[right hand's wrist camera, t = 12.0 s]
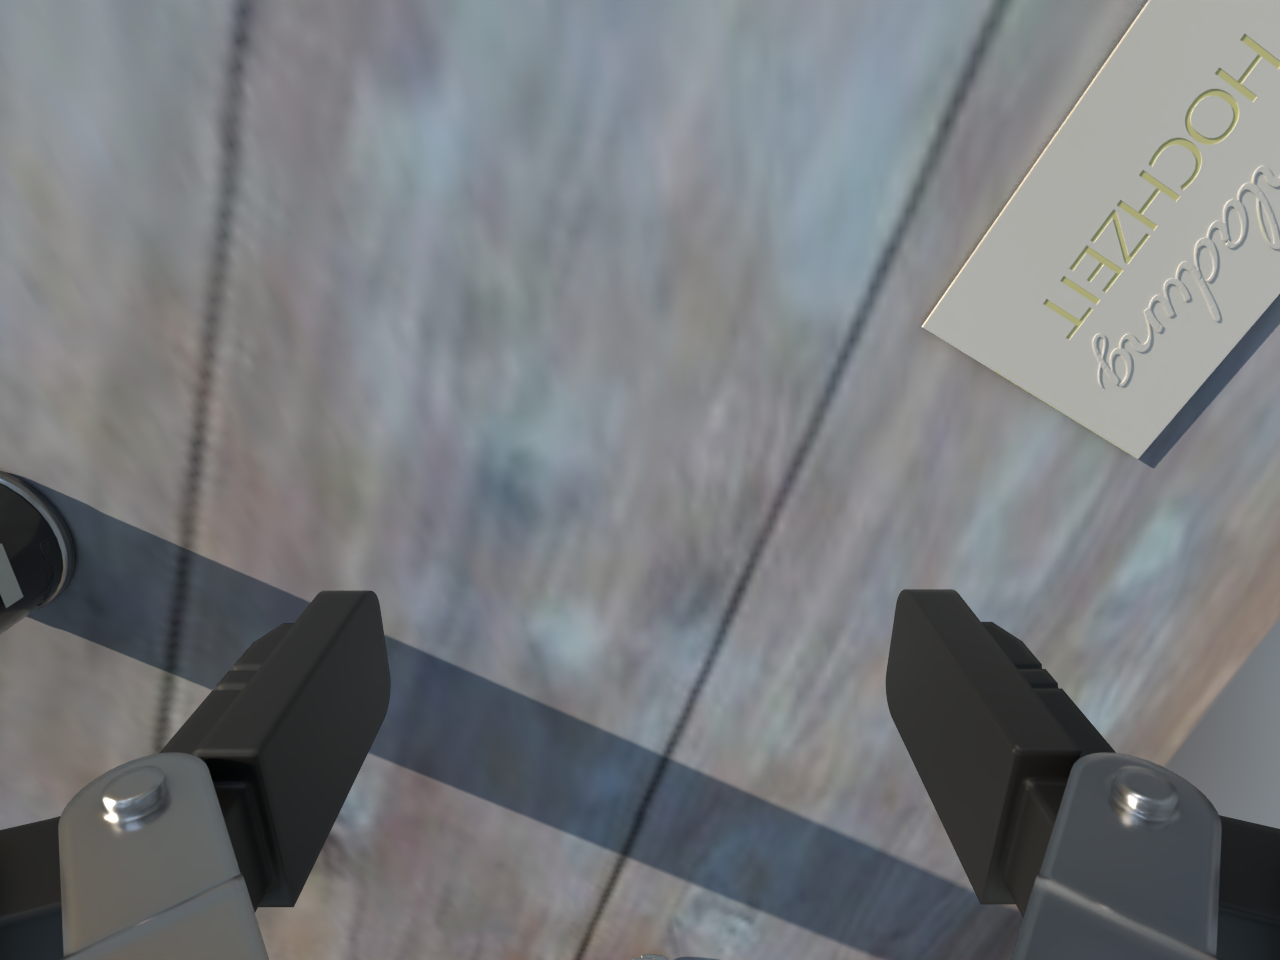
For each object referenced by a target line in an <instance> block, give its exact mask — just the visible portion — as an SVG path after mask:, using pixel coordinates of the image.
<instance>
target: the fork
mask: <svg viewBox="0 0 1280 960" xmlns="http://www.w3.org/2000/svg"><path fill="white" fill-rule="evenodd" d="M633 960H668V959H667V958H665V957H664V956H660V955H654V954H648V955H642V956H641V958H634V959H633Z"/></svg>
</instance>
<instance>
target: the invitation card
mask: <svg viewBox="0 0 1280 960" xmlns="http://www.w3.org/2000/svg"><path fill="white" fill-rule="evenodd" d="M1279 294H1280V0H1148V2H1147V3H1146V5H1145V6H1144V8H1143V9H1142V10H1141V12H1140V13H1139V15H1138V16H1137V18H1136V19H1135V21H1134V22H1133V23H1132V25H1131V26H1130V28H1129V29H1128V31H1127V32H1126V33H1125V35H1124V36H1123V38H1122V39H1121V41H1120V42H1119V44H1118V45H1117V46H1116V48H1115V49H1114V51H1113V52H1112V54H1111V55H1110V56H1109V58H1108V59H1107V61H1106V62H1105V64H1104V65H1103V67H1102V68H1101V69H1100V71H1099V72H1098V74H1097V75H1096V77H1095V78H1094V79H1093V81H1092V82H1091V84H1090V85H1089V87H1088V88H1087V90H1086V91H1085V92H1084V94H1083V95H1082V97H1081V98H1080V100H1079V101H1078V102H1077V104H1076V105H1075V107H1074V108H1073V110H1072V111H1071V113H1070V114H1069V115H1068V117H1067V118H1066V120H1065V121H1064V123H1063V124H1062V125H1061V127H1060V128H1059V130H1058V131H1057V133H1056V134H1055V136H1054V137H1053V138H1052V140H1051V141H1050V143H1049V144H1048V146H1047V147H1046V148H1045V150H1044V151H1043V153H1042V154H1041V156H1040V157H1039V159H1038V160H1037V161H1036V163H1035V164H1034V166H1033V167H1032V169H1031V170H1030V171H1029V173H1028V174H1027V176H1026V177H1025V179H1024V180H1023V182H1022V183H1021V184H1020V186H1019V187H1018V189H1017V190H1016V192H1015V193H1014V194H1013V196H1012V197H1011V199H1010V200H1009V202H1008V203H1007V205H1006V206H1005V207H1004V209H1003V210H1002V212H1001V213H1000V215H999V216H998V217H997V219H996V220H995V222H994V223H993V225H992V226H991V228H990V229H989V230H988V232H987V233H986V235H985V236H984V238H983V239H982V240H981V242H980V243H979V245H978V246H977V248H976V249H975V251H974V252H973V253H972V255H971V256H970V258H969V259H968V261H967V262H966V263H965V265H964V266H963V268H962V269H961V271H960V272H959V274H958V275H957V276H956V278H955V279H954V281H953V282H952V284H951V285H950V286H949V288H948V289H947V291H946V292H945V294H944V295H943V297H942V298H941V299H940V301H939V302H938V304H937V305H936V307H935V308H934V309H933V311H932V312H931V314H930V315H929V317H928V318H927V320H926V321H925V322H924V324H923V325H922V327H923V328H924V329H926V330H928V331H929V332H931V333H932V334H934V335H936V336H937V337H939V338H941V339H942V340H944V341H945V342H947V343H949V344H950V345H952V346H954V347H955V348H957V349H959V350H960V351H962V352H963V353H965V354H967V355H968V356H970V357H972V358H973V359H975V360H976V361H978V362H980V363H981V364H983V365H985V366H986V367H988V368H990V369H991V370H993V371H994V372H996V373H998V374H999V375H1001V376H1003V377H1004V378H1006V379H1008V380H1009V381H1011V382H1012V383H1014V384H1016V385H1017V386H1019V387H1021V388H1022V389H1024V390H1025V391H1027V392H1029V393H1030V394H1032V395H1034V396H1035V397H1037V398H1039V399H1040V400H1042V401H1043V402H1045V403H1047V404H1048V405H1050V406H1052V407H1053V408H1055V409H1056V410H1058V411H1060V412H1061V413H1063V414H1065V415H1066V416H1068V417H1070V418H1071V419H1073V420H1074V421H1076V422H1078V423H1079V424H1081V425H1083V426H1084V427H1086V428H1087V429H1089V430H1091V431H1092V432H1094V433H1096V434H1097V435H1099V436H1101V437H1102V438H1104V439H1105V440H1107V441H1109V442H1110V443H1112V444H1114V445H1115V446H1117V447H1118V448H1120V449H1122V450H1123V451H1125V452H1127V453H1128V454H1130V455H1132V456H1133V457H1135V458H1137V459H1139V457H1140V456H1141V455H1142V454H1143V453H1144V452H1145V450H1146V449H1147V448H1148V447H1149V446H1150V445H1151V443H1152V442H1153V441H1154V440H1155V439H1156V438H1157V436H1158V435H1159V434H1160V433H1161V432H1162V431H1163V429H1164V428H1165V427H1166V426H1167V425H1168V424H1169V422H1170V421H1171V420H1172V419H1173V418H1174V417H1175V415H1176V414H1177V413H1178V412H1179V411H1180V410H1181V408H1182V407H1183V406H1184V405H1185V404H1186V402H1187V401H1188V400H1189V399H1190V398H1191V397H1192V395H1193V394H1194V393H1195V392H1196V391H1197V390H1198V388H1199V387H1200V386H1201V385H1202V384H1203V383H1204V381H1205V380H1206V379H1207V378H1208V377H1209V376H1210V374H1211V373H1212V372H1213V371H1214V370H1215V369H1216V367H1217V366H1218V365H1219V364H1220V363H1221V362H1222V360H1223V359H1224V358H1225V357H1226V356H1227V355H1228V353H1229V352H1230V351H1231V350H1232V349H1233V348H1234V346H1235V345H1236V344H1237V343H1238V342H1239V341H1240V339H1241V338H1242V337H1243V336H1244V335H1245V334H1246V332H1247V331H1248V330H1249V329H1250V328H1251V327H1252V325H1253V324H1254V323H1255V322H1256V321H1257V320H1258V318H1259V317H1260V316H1261V315H1262V314H1263V313H1264V311H1265V310H1266V309H1267V308H1268V307H1269V306H1270V304H1271V303H1272V302H1273V301H1274V300H1275V299H1276V297H1277V296H1278V295H1279Z"/></svg>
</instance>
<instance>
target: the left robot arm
mask: <svg viewBox="0 0 1280 960" xmlns="http://www.w3.org/2000/svg"><path fill="white" fill-rule="evenodd" d="M74 568H75V548H74V544H73V540H72V537H71V534H70V532H69V530H68V527H67V526H66V524H65V522H64V520H63V519H62V517H61V516H60V514H59V513H58V512H57V510H56V509H55V508H54V507H53V505H52V504H51V503H50V502H49V501H48V500H47V499H46V498H45V497H44V496H42V495H41V494H40V493H39V492H38V491H36V490H35V489H34V488H33V487H31V486H30V485H28V484H27V483H25V482H23V481H22V480H20V479H18V478H16V477H14V476H12V475H10V474H8V473H5V472H3V471H0V634H1V633H3V632H4V631H6V630H7V629H9V628H10V627H12V626H13V625H14V624H16V623H17V622H19V621H20V620H22V619H23V618H24V617H26V616H27V615H29V614H30V613H32V612H34V611H36V610H38V609H40V608H42V607H43V606H45V605H46V604H48V603H49V602H50V601H52V600H53V599H55V598H56V597H57V596H59V595H60V594H61V593H62V592H63V591H64V590H65V588H66V587H67V586H68V584H69V582H70V580H71V578H72V576H73V572H74Z"/></svg>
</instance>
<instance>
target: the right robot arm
mask: <svg viewBox="0 0 1280 960" xmlns="http://www.w3.org/2000/svg"><path fill="white" fill-rule="evenodd" d="M886 695H887V701H888V706H889V710H890V713H891V716H892V719H893V721H894V723H895V725H896V727H897V729H898V731H899V733H900V735H901V738H902V740H903V742H904V744H905V746H906V748H907V750H908V752H909V754H910V756H911V759H912V761H913V763H914V765H915V767H916V769H917V771H918V773H919V775H920V778H921V780H922V782H923V784H924V786H925V788H926V790H927V792H928V794H929V796H930V799H931V801H932V803H933V805H934V807H935V809H936V811H937V813H938V815H939V817H940V820H941V822H942V824H943V826H944V828H945V830H946V832H947V834H948V836H949V839H950V841H951V843H952V845H953V847H954V849H955V851H956V853H957V855H958V857H959V860H960V862H961V864H962V866H963V868H964V870H965V872H966V874H967V876H968V878H969V881H970V883H971V885H972V887H973V889H974V891H975V893H976V895H977V897H978V900H979V902H980V904H1016V905H1017V907H1018V909H1019V911H1020V913H1021V914H1022V916H1023V918H1024V919H1023V922H1022V925H1021V929H1020V932H1019V935H1018V938H1017V941H1016V945H1015V948H1014V951H1013V954H1012V958H1011V960H1280V829H1277V828H1273V827H1268V826H1264V825H1259V824H1255V823H1250V822H1246V821H1242V820H1237V819H1233V818H1228V817H1224V816H1220V815H1218V812H1217V811H1216V809H1215V808H1214V806H1213V804H1212V803H1211V802H1210V801H1209V800H1208V799H1207V797H1206V796H1205V795H1204V794H1203V793H1202V792H1201V791H1199V790H1198V789H1197V788H1196V787H1195V786H1194V785H1192V784H1191V783H1189V782H1188V781H1187V780H1185V779H1184V778H1182V777H1181V776H1179V775H1177V774H1176V773H1174V772H1172V771H1170V770H1168V769H1166V768H1164V767H1162V766H1160V765H1158V764H1155V763H1153V762H1150V761H1148V760H1145V759H1141V758H1138V757H1135V756H1130V755H1126V754H1119V753H1116V752H1115V751H1114V750H1113V749H1112V747H1111V746H1110V745H1109V744H1108V743H1107V742H1106V740H1105V739H1104V738H1103V737H1102V736H1101V734H1100V733H1099V732H1098V731H1097V730H1096V728H1095V727H1094V726H1093V725H1092V724H1091V723H1090V721H1089V720H1088V719H1087V718H1086V717H1085V715H1084V714H1083V713H1082V712H1081V711H1080V709H1079V708H1078V707H1077V706H1076V705H1075V704H1074V702H1073V701H1072V700H1071V699H1070V698H1069V696H1068V695H1067V694H1066V693H1065V692H1064V690H1063V689H1058V683H1057V682H1056V681H1055V680H1054V679H1053V677H1052V676H1051V675H1050V674H1049V673H1048V671H1047V670H1046V669H1042V664H1041V663H1040V662H1039V661H1038V660H1037V658H1036V657H1035V656H1034V655H1033V654H1032V652H1031V651H1030V650H1029V649H1028V648H1027V646H1026V645H1025V644H1024V643H1023V642H1022V641H1021V640H1019V639H1018V638H1016V637H1015V636H1013V635H1011V634H1010V633H1008V632H1007V631H1005V630H1004V629H1002V628H1001V627H999V626H997V625H996V624H994V623H993V622H980V620H979V619H978V618H977V617H976V615H975V614H974V613H973V612H972V610H971V609H970V608H969V606H968V605H967V604H966V603H965V601H964V600H963V599H962V597H961V596H960V595H959V594H958V593H957V592H956V591H955V590H903V591H901V593H900V594H899V597H898V600H897V604H896V610H895V617H894V624H893V631H892V638H891V645H890V652H889V659H888V666H887V673H886ZM389 698H390V672H389V665H388V659H387V652H386V645H385V638H384V631H383V624H382V618H381V611H380V605H379V601H378V598H377V595H376V594H375V593H374V592H373V591H321V592H320V593H319V594H318V595H317V596H316V597H315V598H314V600H313V601H312V602H311V603H310V605H309V606H308V607H307V608H306V610H305V611H304V612H303V613H302V615H301V616H300V617H299V618H298V620H297V621H296V622H295V623H283V624H282V625H280V626H279V627H277V628H276V629H274V630H272V631H271V632H269V633H268V634H266V635H265V636H263V637H262V638H260V639H258V640H257V641H255V642H254V643H253V644H252V645H251V646H250V647H249V648H248V649H247V651H246V652H245V653H244V654H243V655H242V656H241V658H240V659H239V660H238V661H237V662H236V664H235V665H234V666H233V671H229V672H228V673H227V674H226V675H225V676H224V678H223V679H222V680H221V681H220V682H219V684H218V685H217V690H213V691H212V692H211V693H210V694H209V695H208V697H207V698H206V699H205V700H204V701H203V702H202V704H201V705H200V706H199V707H198V708H197V709H196V711H195V712H194V713H193V714H192V715H191V717H190V718H189V719H188V720H187V721H186V722H185V724H184V725H183V726H182V727H181V728H180V729H179V731H178V732H177V733H176V734H175V735H174V737H173V738H172V739H171V740H170V741H169V742H168V744H167V745H166V746H165V747H164V748H163V749H162V751H161V752H160V753H159V754H154V755H150V756H145V757H142V758H139V759H135V760H132V761H130V762H127V763H125V764H122V765H120V766H118V767H116V768H114V769H112V770H110V771H108V772H106V773H104V774H103V775H101V776H99V777H98V778H96V779H95V780H93V781H92V782H91V783H89V784H88V785H86V786H85V787H84V788H83V789H82V790H81V791H79V792H78V793H77V794H76V795H75V796H74V797H73V799H72V800H71V801H70V802H69V803H68V804H67V806H66V808H65V809H64V811H63V812H62V815H61V816H59V817H56V818H52V819H48V820H43V821H39V822H35V823H30V824H26V825H21V826H17V827H12V828H8V829H4V830H0V960H269V958H268V954H267V951H266V948H265V945H264V941H263V938H262V935H261V932H260V929H259V925H258V922H257V919H256V916H255V912H256V910H257V908H258V907H294V905H295V903H296V901H297V899H298V897H299V895H300V893H301V891H302V889H303V887H304V885H305V883H306V880H307V878H308V876H309V874H310V872H311V870H312V868H313V866H314V864H315V862H316V860H317V858H318V856H319V853H320V851H321V849H322V847H323V845H324V843H325V841H326V839H327V837H328V835H329V833H330V831H331V829H332V826H333V824H334V822H335V820H336V818H337V816H338V814H339V812H340V810H341V808H342V806H343V804H344V802H345V799H346V797H347V795H348V793H349V791H350V789H351V787H352V785H353V783H354V781H355V779H356V777H357V774H358V772H359V770H360V768H361V766H362V764H363V762H364V760H365V758H366V756H367V754H368V752H369V750H370V747H371V745H372V743H373V741H374V739H375V737H376V735H377V733H378V731H379V729H380V727H381V725H382V723H383V720H384V718H385V716H386V712H387V709H388V704H389Z"/></svg>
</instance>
